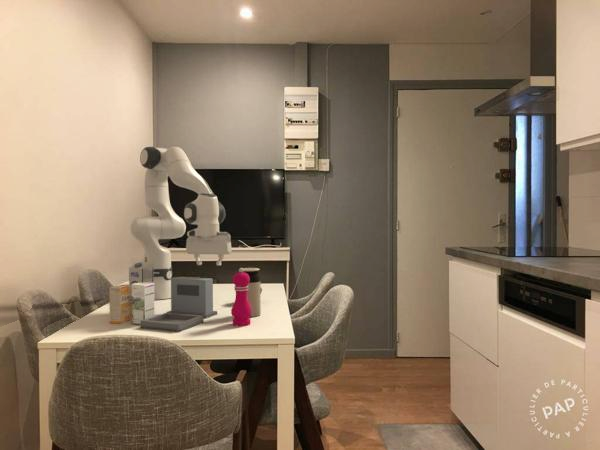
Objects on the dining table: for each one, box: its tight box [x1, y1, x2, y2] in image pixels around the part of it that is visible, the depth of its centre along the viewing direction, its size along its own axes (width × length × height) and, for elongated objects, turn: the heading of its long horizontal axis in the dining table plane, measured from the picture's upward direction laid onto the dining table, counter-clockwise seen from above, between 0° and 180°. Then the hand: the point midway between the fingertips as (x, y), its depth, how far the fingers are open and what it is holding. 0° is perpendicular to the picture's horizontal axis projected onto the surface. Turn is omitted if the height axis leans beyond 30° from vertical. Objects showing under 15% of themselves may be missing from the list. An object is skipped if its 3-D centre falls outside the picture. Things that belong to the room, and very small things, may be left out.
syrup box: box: [131, 282, 156, 326], centre depth 157 cm, size 6×6×14 cm
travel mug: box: [242, 267, 262, 318], centre depth 169 cm, size 8×8×18 cm
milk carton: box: [128, 261, 154, 285], centre depth 177 cm, size 7×7×20 cm
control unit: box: [166, 276, 218, 320], centre depth 171 cm, size 18×8×14 cm, turn 68°
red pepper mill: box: [230, 267, 252, 327], centre depth 155 cm, size 7×7×20 cm
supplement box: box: [108, 283, 132, 324], centre depth 161 cm, size 8×5×13 cm, turn 168°
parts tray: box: [140, 312, 204, 333], centre depth 153 cm, size 16×14×2 cm
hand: (209, 265), depth 181 cm, fingers open, 8 cm apart
